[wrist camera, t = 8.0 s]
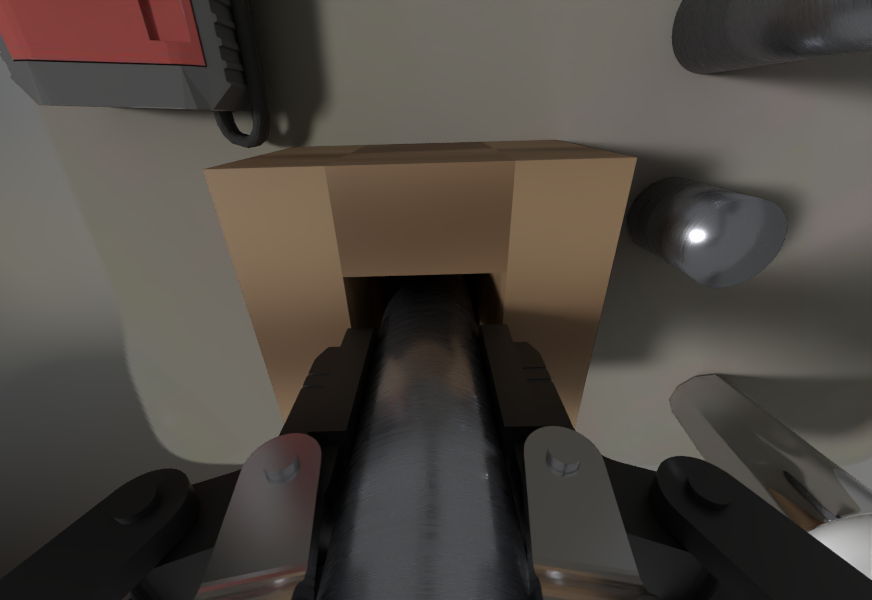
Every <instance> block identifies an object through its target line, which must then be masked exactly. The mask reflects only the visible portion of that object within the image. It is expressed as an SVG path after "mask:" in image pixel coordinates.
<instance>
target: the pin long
mask: <svg viewBox="0 0 872 600" xmlns="http://www.w3.org/2000/svg"><path fill="white" fill-rule="evenodd" d="M316 600H530V598H529V572H528V562H527V557H526V553H525V548H524V543H523V539H522V534H521V529H520V525H519V520H518V516H517V511H516V506H515V502H514V497H513V492H512V488H511V483H510V478H509V474H508V469H507V464H506V460H505V456H504V453H503V451H502V446H501V442H500V437H499V432H498V427H497V423H496V418H495V413H494V408H493V404H492V399H491V394H490V390H489V385H488V380H487V375H486V371H485V366H484V361H483V356H482V352H481V347H480V342H479V337H478V329H477V325H476V320H475V315H474V311H473V306H472V302H471V297H470V292H469V288H468V284H467V281H466V279H465V278H464V276H463V275H462V274H439V275H402V276H395V277H394V278H393V280H392V282H391V285H390V289H389V293H388V297H387V302H386V306H385V310H384V314H383V319H382V323H381V327H380V331H379V336H378V341H377V345H376V349H375V353H374V358H373V362H372V366H371V371H370V375H369V379H368V383H367V388H366V392H365V396H364V400H363V405H362V409H361V413H360V417H359V422H358V426H357V430H356V434H355V439H354V443H353V447H352V452H351V455H350V459H349V463H348V467H347V471H346V476H345V480H344V484H343V488H342V493H341V497H340V501H339V505H338V509H337V514H336V518H335V522H334V526H333V531H332V535H331V539H330V543H329V548H328V552H327V556H326V560H325V565H324V569H323V573H322V577H321V582H320V586H319V590H318V594H317V599H316Z"/></svg>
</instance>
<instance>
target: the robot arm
mask: <svg viewBox="0 0 872 600" xmlns="http://www.w3.org/2000/svg"><path fill="white" fill-rule="evenodd" d="M478 337H479V342H480V347H481V352H482V356H483V361H484V366H485V371H486V375H487V380H488V385H489V390H490V394H491V399H492V404H493V408H494V413H495V418H496V423H497V427H498V432H499V437H500V442H501V446H502V451H503V453H504V456H505V460H506V464H507V469H508V474H509V478H510V483H511V488H512V492H513V497H514V502H515V506H516V511H517V516H518V520H519V525H520V529H521V534H522V539H523V543H524V548H525V553H526V557H527V562H528V572H529V598H530V600H872V580H871V579H870V578H868V577H867V576H866V575H864V574H863V573H862V572H860V571H859V570H858V569H856V568H855V567H854V566H852V565H851V564H850V563H848V562H847V561H845V560H844V559H843V558H841V557H840V556H839V555H837V554H836V553H835V552H833V551H832V550H831V549H829V548H828V547H827V546H825V545H824V544H823V543H821V542H820V541H819V540H817V539H816V538H815V537H813V536H812V535H811V534H809V533H808V532H807V531H805V530H804V529H803V528H801V527H800V526H798V525H797V524H796V523H794V522H793V521H792V520H790V519H789V518H788V517H786V516H785V515H784V514H782V513H781V512H780V511H778V510H777V509H776V508H774V507H773V506H772V505H770V504H769V503H768V502H766V501H765V500H764V499H762V498H761V497H760V496H758V495H757V494H756V493H754V492H753V491H752V490H750V489H749V488H747V487H746V486H745V485H743V484H742V483H741V482H739V481H738V480H737V479H735V478H734V477H733V476H731V475H730V474H728V473H727V472H725V471H724V470H722V469H720V468H719V467H717V466H715V465H713V464H711V463H708V462H706V461H703V460H700V459H697V458H693V457H686V456H675V457H670V458H668V459H666V460H664V461H663V462H662V463H661V464H660V466H659V468H658V470H657V472H656V471H652V470H648V469H644V468H640V467H636V466H632V465H628V464H624V463H621V462H617V461H614V460H611V459H609V458H607V457H604V456H603V455H601V453H600V452H599V450H598V449H597V448H596V446H595V445H594V444H593V443H592V442H591V441H590V440H589V439H587V438H586V437H585V436H583V435H581V434H580V433H578V432H576V431H575V429H574V427H573V425H572V423H571V421H570V418H569V416H568V414H567V412H566V410H565V407H564V405H563V403H562V401H561V399H560V396H559V394H558V392H557V390H556V388H555V385H554V383H553V382H552V380H551V376H550V374H549V372H548V370H546V365H545V363H544V361H543V359H542V357H541V354H540V353H539V352H538V351H537V350H536V349H535V348H534V347H532V346H531V345H530V344H529V343H528V342H513V340H512V337H511V334H510V331H509V328H508V326H507V324H489V325H479V333H478ZM377 341H378V338H377V331H376V328H374V327H373V328H348V329H347V331H346V333H345V336H344V338H343V341H342V343H341V346H340V347H328V348H327V349H325V350H324V351H323V352H322V353H321V354H320V355H319V356H318V357H317V358H316V359H315V360H314V362H313V364H312V366H311V369H310V371H309V373H308V376H307V377H306V379H305V381H304V384H303V388H301V390H300V392H299V394H298V396H297V398H296V401H295V403H294V405H293V407H292V409H291V411H290V413H289V415H288V418H287V420H286V422H285V424H284V426H283V428H282V430H281V433H280V435H279V436H278V437H276V438H273V439H271V440H269V441H267V442H266V443H264V444H263V445H261V446H260V447H259V448H257V449H256V450H255V451H254V452H253V453H252V454H251V455H250V456H249V458H248V459H247V460H246V462H245V463H244V465H243V467H242V469H240V470H238V471H235V472H232V473H229V474H226V475H222V476H219V477H216V478H213V479H209V480H206V481H203V482H200V483H196V484H193V485H192V484H191V483H190V481H189V479H188V477H187V476H186V474H184V473H183V472H182V471H180V470H177V469H171V468H170V469H160V470H155V471H151V472H148V473H145V474H143V475H140V476H138V477H136V478H135V479H132V480H131V481H129V482H127V483H125V484H124V485H122V486H121V487H119V488H118V489H117V490H115V491H114V492H113V493H112V494H110V495H109V496H108V497H106V498H105V499H104V500H103V501H101V502H100V503H98V504H97V505H96V506H94V507H93V508H92V509H91V510H89V511H88V512H87V513H86V514H84V515H83V516H82V517H80V518H79V519H78V520H76V521H75V522H74V523H72V524H71V525H70V526H69V527H67V528H66V529H65V530H63V531H62V532H61V533H60V534H58V535H57V536H56V537H54V538H53V539H52V540H50V541H49V542H48V543H47V544H45V545H44V546H43V547H42V548H40V549H39V550H38V551H36V552H35V553H34V554H32V555H31V556H30V557H29V558H27V559H26V560H25V561H23V562H22V563H21V564H19V565H18V566H17V567H16V568H14V569H13V570H12V571H10V572H9V573H8V574H7V575H5V576H4V577H3V578H1V579H0V600H122V599H123V598H124V597H125V596H126V595H127V594H128V595H130V598H129V600H316V599H317V594H318V590H319V586H320V582H321V577H322V573H323V569H324V565H325V560H326V556H327V552H328V548H329V543H330V539H331V535H332V531H333V526H334V522H335V518H336V514H337V509H338V505H339V501H340V497H341V493H342V488H343V484H344V480H345V476H346V471H347V467H348V463H349V459H350V455H351V452H352V447H353V443H354V439H355V434H356V430H357V426H358V422H359V417H360V413H361V409H362V405H363V400H364V396H365V392H366V388H367V383H368V379H369V375H370V371H371V366H372V362H373V358H374V353H375V349H376V345H377Z"/></svg>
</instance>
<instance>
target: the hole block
mask: <svg viewBox="0 0 872 600" xmlns="http://www.w3.org/2000/svg"><path fill="white" fill-rule="evenodd" d="M636 161H637V157H633V156H628V155H624V154H619V153H614V152H610V151H605V150H600V149H596V148H591V147H586V146H581V145H577V144H572V143H567V142H563V141H558V140H533V141H497V142H461V143H425V144H389V145H352V146H316V147H292V148H288V149H284V150H280V151H276V152H272V153H267V154H263V155H259V156H255V157H251V158H247V159H243V160H239V161H235V162H231V163H227V164H223V165H219V166H215V167H211V168H207V169H203V172H204V175H205V178H206V181H207V185H208V188H209V191H210V194H211V197H212V200H213V203H214V206H215V209H216V213H217V216H218V219H219V222H220V225H221V228H222V231H223V234H224V237H225V240H226V244H227V247H228V250H229V253H230V256H231V259H232V262H233V265H234V268H235V272H236V275H237V278H238V281H239V284H240V287H241V290H242V293H243V296H244V299H245V303H246V306H247V309H248V312H249V315H250V318H251V321H252V324H253V327H254V331H255V334H256V337H257V340H258V343H259V346H260V349H261V352H262V355H263V358H264V362H265V365H266V368H267V371H268V374H269V377H270V380H271V383H272V386H273V390H274V393H275V396H276V399H277V402H278V405H279V408H280V411H281V414H282V417H283V421H284V424H285V422H286V420H287V418H288V415H289V413H290V411H291V409H292V407H293V405H294V403H295V401H296V398H297V396H298V394H299V392H300V390H301V388H303V384H304V381H305V379H306V377H307V376H308V373H309V371H310V369H311V366H312V364H313V362H314V360H315V359H316V358H317V357H318V356H319V355H320V354H321V353H322V352H323V351H324V350H325V349H327V348H328V347H340V346H341V343H342V341H343V338H344V336H345V333H346V331H347V329H348V328H373V327H374V328H376V331H377V338H378V336H379V331H380V327H381V323H382V319H383V314H384V310H385V309H384V300H383V291H382V282H381V276H402V275H439V274H475V273H477V298H476V306H475V307H473V311H474V315H475V320H476V325H477V329H478V333H479V325H489V324H507V326H508V328H509V331H510V334H511V337H512V340H513V342H528V343H529V344H530V345H531V346H532V347H534V348H535V349H536V350H537V351H538V352H539V353H540V354H541V357H542V359H543V361H544V363H545V365H546V370H548V372H549V374H550V376H551V380H552V382H553V383H554V385H555V388H556V390H557V392H558V394H559V396H560V399H561V401H562V403H563V405H564V407H565V410H566V412H567V414H568V416H569V418H570V421H571V423H572V425H573V427H574V429H575V425H576V420H577V416H578V412H579V407H580V403H581V399H582V394H583V390H584V386H585V381H586V377H587V373H588V369H589V364H590V360H591V356H592V351H593V347H594V343H595V338H596V334H597V330H598V325H599V321H600V317H601V312H602V308H603V304H604V299H605V295H606V291H607V286H608V282H609V278H610V273H611V269H612V265H613V260H614V256H615V252H616V248H617V243H618V239H619V235H620V230H621V226H622V222H623V217H624V213H625V209H626V204H627V200H628V196H629V191H630V187H631V183H632V178H633V174H634V170H635V165H636Z"/></svg>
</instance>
